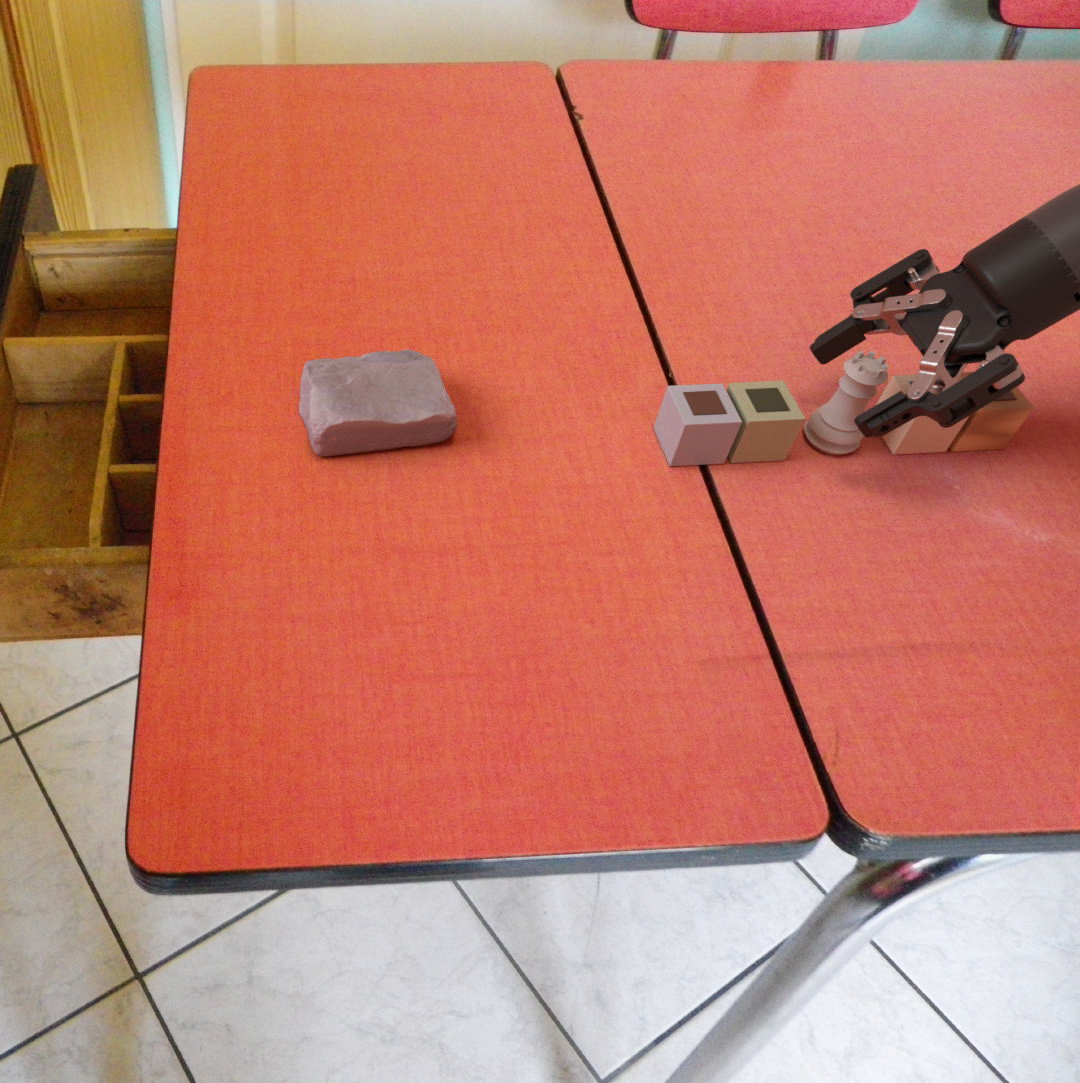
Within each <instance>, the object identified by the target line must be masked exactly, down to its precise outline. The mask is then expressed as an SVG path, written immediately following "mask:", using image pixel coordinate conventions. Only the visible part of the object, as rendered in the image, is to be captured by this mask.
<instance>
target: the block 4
mask: <svg viewBox="0 0 1080 1083" xmlns="http://www.w3.org/2000/svg"><path fill="white" fill-rule="evenodd" d="M973 372H974V371H963V373H962V374H961V376H960V378H959V379H958V381H957V382H959V381H960V380H962V379H963V378H965V377H967V376H968V375H970V374H971V373H973ZM1033 410H1034V405H1032V403H1031V401H1030V400H1028V398H1027V397H1026V395H1025V394H1024V393H1023V392H1022V390H1021V389H1020V388H1019V386H1017V387H1016V388H1014V389H1012V390H1011V391H1009V392H1007V393H1006V394H1004V395H1002V396H1001V397H999V398H998V399H996V400H994V401H993V402H991V403H989V404H988V405H986V406H984V407H983V408H981V409H979V410H978V411H976V412H975V413H973V414H971V415H970V416H969V417H968V419H967V420H966V422H965V423H964V425H963V426H962V428H961V429H960V431H959V432H958V434H957V435H956V437H955V438H954V440H953V441H952V443H951V444H950V446H949V447H948V449H949V450H950V451H951V452H972V451H989V450H992V451H993V450H1004V449H1005V448H1007V445H1008V444H1009V443H1010V441H1011V440H1012V438H1014V436H1015V434H1016V433H1018V432H1017V431H1018V430H1019V429H1020V428H1021V426H1022V425H1023V424H1024V422H1025V421H1026V419H1027V418H1028V416H1030V414H1031V412H1032V411H1033Z"/></svg>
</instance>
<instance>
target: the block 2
mask: <svg viewBox="0 0 1080 1083" xmlns="http://www.w3.org/2000/svg"><path fill="white" fill-rule="evenodd" d="M726 391H727V393H728V395H729V397H730V399H731V401H732V403H733V405H734V407H735V409H736V411H737V413H738V414H739V416H740V418H741V420H742V424H741V426H740V428H739V431H738V433H737V435H736V438H735V440H734V442H733V445H732V447H731V449H730V451H729V454H728V456H727V458H728V461H729V463H730V464H744V463H745V464H747V463H762V462H763V463H765V462H782V461H786V460H787V457H788V456H789V453H790V451H791V449H792V448H793V445H794V444H795V441H796V439H797V437H798V435H799V433H800V432H801V429H802V427H803V425H804V424H805V421H806V417H805V414H804V413H803V411H802V410H801V408H800V406H799V404H798V403H797V401H796V399H795V398H794V396H793V394H792V392H791V390H790V389H789V387H788V385H787V383H786V382H785V380H766V381H765V380H764V381H762V380H761V381H740V382H739V381H738V382H729V383H728V385H727V388H726Z"/></svg>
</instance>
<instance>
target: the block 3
mask: <svg viewBox="0 0 1080 1083" xmlns="http://www.w3.org/2000/svg"><path fill="white" fill-rule="evenodd" d="M917 374H918V373H917ZM917 374H898V375H897V374H895V375H894V374H893V375H891V377H890V379H889V381H888V383H887V385H886V387H885V388H884V390H883V391H882V393H881V395H880V397H879V399H878V401H877V402H876V404H875V406H876V405H877V404H879V403H881V402H883V401H884V400H886V399H888V398H889V397H891V396H893V395H895V394H896V393H898V392H900V391H902V392H903V394H904V395H905V394H907V391H908V389H909V388H910V386H911V384H912V383H913V381H914V379H915V378H916V376H917ZM968 417H969V416H968ZM968 417H966V418H965V419H963V420H961V421H960V422H958V423H957V424H955V425H953V426H951V427H949V428H943V427H941V426H940V425H939V424H938V422H936V421H934V420H933V419H931V418H929V417H927V416H918V417H916V418H914V419H912V420H911V421H909V422H907V423H905V424H903V425H902V426H900V427H898V428H896V429H895V430H893V431H891V432H889V433H887V434H886V435H884V436H881V438H882V439H883V441H884V443H885V444H886V446H887V447H888V449H889V451H890V452H891V454H892V455H894V456H895V455H911V454H914V455H915V454H928V453H929V454H935V453H946V452H947V451H948V450H949V446H950V444H951V443H952V441H953V440H954V438H955V437H956V435H957V434H958V432H959V431H960V429H961V428H962V426H963V425H964V423H965V422H966V420H967V419H968Z"/></svg>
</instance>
